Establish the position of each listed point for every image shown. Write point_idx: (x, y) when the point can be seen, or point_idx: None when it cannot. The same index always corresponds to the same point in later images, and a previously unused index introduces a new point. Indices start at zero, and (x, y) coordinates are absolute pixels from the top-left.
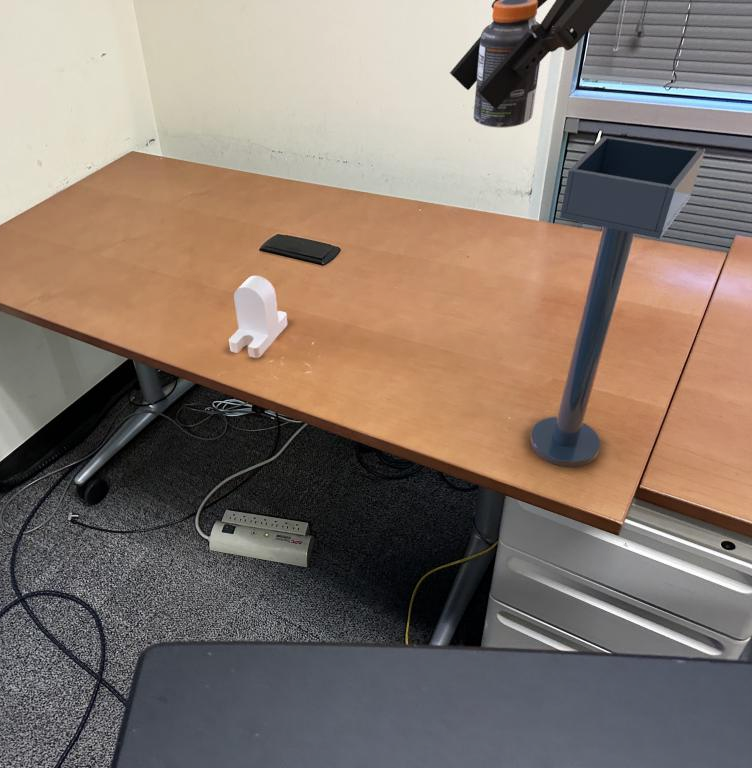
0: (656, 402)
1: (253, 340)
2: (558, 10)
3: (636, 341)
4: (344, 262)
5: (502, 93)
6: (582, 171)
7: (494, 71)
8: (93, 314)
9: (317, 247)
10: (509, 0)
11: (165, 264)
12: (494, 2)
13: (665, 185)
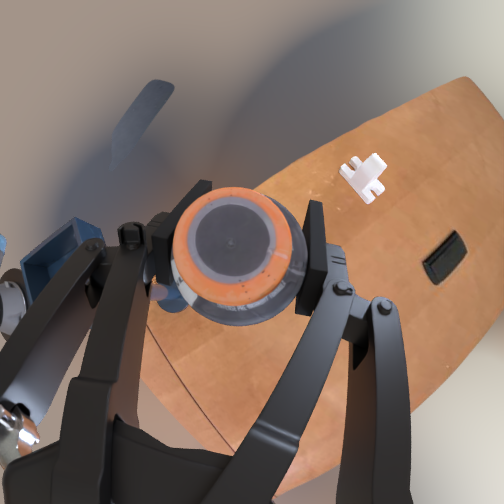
0: (177, 364)
1: (349, 169)
2: (109, 276)
3: (229, 400)
4: (419, 279)
5: None
6: (66, 224)
7: (196, 195)
8: (415, 113)
9: (443, 270)
10: (249, 234)
11: (456, 168)
12: (387, 303)
13: (24, 259)
